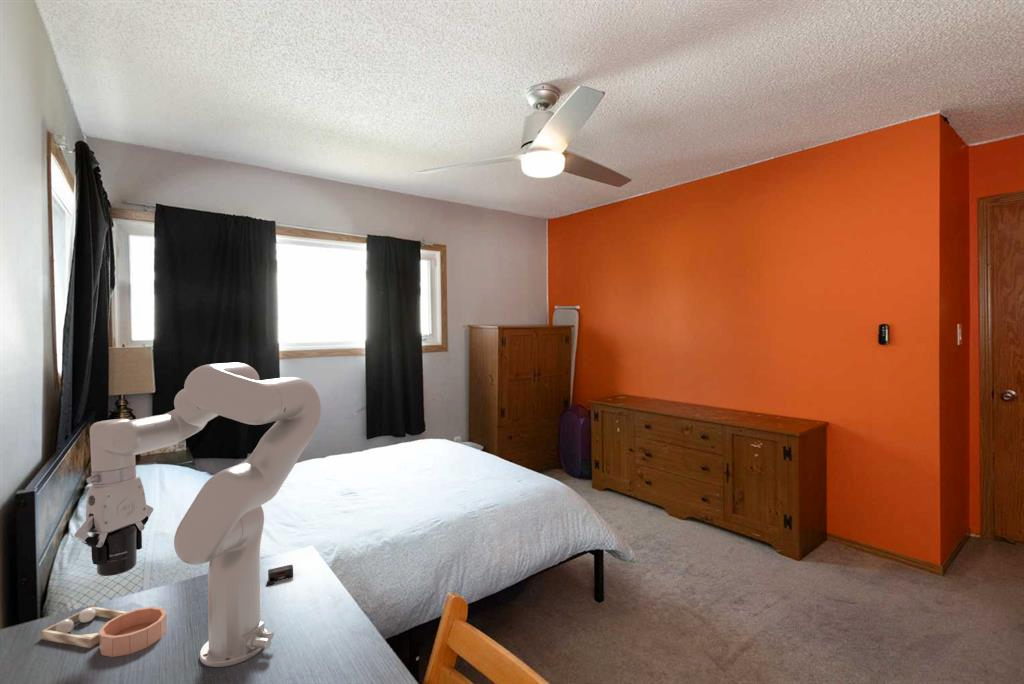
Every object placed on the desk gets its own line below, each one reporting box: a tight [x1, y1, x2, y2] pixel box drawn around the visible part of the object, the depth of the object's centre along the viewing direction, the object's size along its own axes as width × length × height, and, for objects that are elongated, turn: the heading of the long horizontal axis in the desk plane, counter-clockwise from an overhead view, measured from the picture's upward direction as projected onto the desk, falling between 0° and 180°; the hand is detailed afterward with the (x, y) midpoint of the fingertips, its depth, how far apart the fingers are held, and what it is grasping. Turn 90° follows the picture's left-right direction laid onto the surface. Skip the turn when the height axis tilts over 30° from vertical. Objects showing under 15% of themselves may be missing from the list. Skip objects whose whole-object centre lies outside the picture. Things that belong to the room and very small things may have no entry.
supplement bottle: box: [96, 524, 138, 577], centre depth 106 cm, size 7×7×12 cm
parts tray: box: [40, 605, 128, 649], centre depth 108 cm, size 14×10×2 cm
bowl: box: [98, 606, 167, 658], centre depth 105 cm, size 11×11×4 cm
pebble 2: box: [78, 607, 96, 624], centre depth 111 cm, size 3×3×3 cm
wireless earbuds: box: [265, 564, 294, 587], centre depth 130 cm, size 4×7×3 cm, turn 120°
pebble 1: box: [55, 618, 75, 634], centre depth 107 cm, size 3×3×3 cm
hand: (118, 555), depth 106 cm, fingers closed on supplement bottle, 6 cm apart
